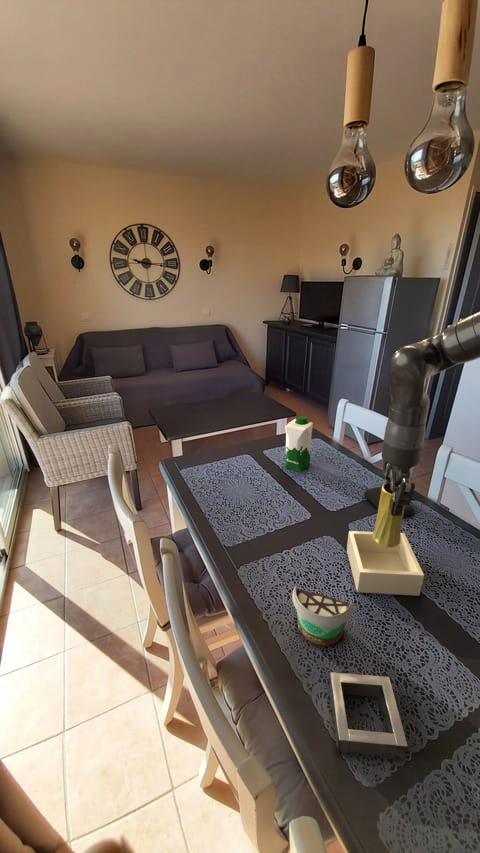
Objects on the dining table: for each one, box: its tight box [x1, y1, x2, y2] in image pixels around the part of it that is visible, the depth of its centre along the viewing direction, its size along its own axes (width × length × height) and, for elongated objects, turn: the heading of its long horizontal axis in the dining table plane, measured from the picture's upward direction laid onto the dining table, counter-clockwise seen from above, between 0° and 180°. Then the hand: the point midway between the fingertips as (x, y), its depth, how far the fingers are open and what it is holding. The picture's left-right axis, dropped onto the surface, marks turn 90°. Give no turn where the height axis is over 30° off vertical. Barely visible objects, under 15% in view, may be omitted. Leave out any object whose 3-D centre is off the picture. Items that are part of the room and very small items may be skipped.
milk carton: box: [284, 414, 314, 473], centre depth 134 cm, size 9×9×20 cm
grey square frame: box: [328, 671, 409, 759], centre depth 61 cm, size 10×10×4 cm
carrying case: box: [364, 486, 416, 518], centre depth 114 cm, size 11×3×15 cm
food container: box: [291, 585, 354, 647], centre depth 73 cm, size 12×6×10 cm, turn 68°
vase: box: [372, 482, 405, 548], centre depth 83 cm, size 6×6×14 cm
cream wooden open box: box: [346, 530, 425, 597], centre depth 89 cm, size 14×14×7 cm
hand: (391, 506), depth 82 cm, fingers closed on vase, 5 cm apart
